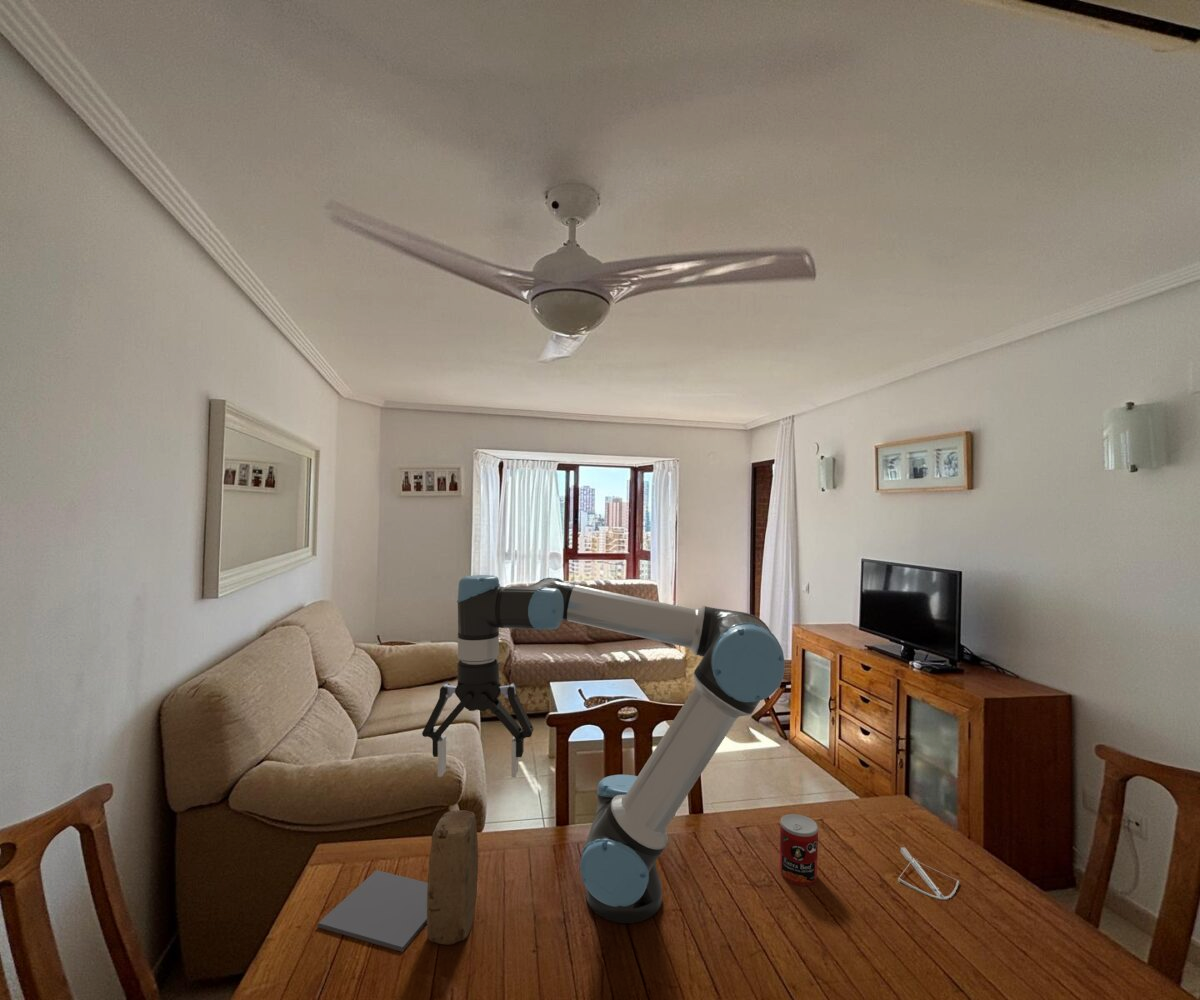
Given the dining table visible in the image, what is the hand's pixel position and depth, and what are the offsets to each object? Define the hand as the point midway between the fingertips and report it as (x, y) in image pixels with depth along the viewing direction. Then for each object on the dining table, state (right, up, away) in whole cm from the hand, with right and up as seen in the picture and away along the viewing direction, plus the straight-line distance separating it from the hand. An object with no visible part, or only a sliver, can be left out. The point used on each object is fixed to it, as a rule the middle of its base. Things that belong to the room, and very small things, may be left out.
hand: (478, 774), depth 105 cm
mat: (-18, -28, +3) cm, 33 cm away
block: (-5, -28, -1) cm, 28 cm away
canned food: (+65, -30, +17) cm, 74 cm away
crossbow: (+93, -32, +18) cm, 100 cm away
